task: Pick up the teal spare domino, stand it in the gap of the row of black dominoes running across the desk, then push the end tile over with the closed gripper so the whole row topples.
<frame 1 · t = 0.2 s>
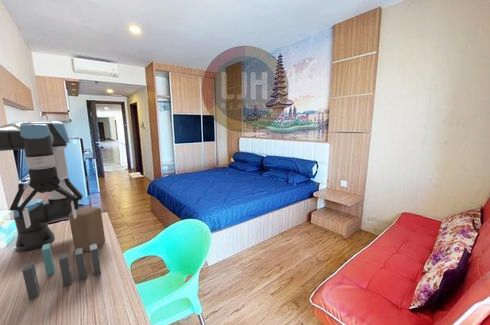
hand: (52, 221, 83), 27 cm above the table, fingers open, 13 cm apart
block: (90, 246, 114), on the table
spare domino: (51, 271, 95), on the table
domino 5: (97, 271, 95), on the table
domino 4: (83, 276, 92), on the table
domino 3: (68, 282, 89), on the table
domino 1: (34, 294, 83), on the table
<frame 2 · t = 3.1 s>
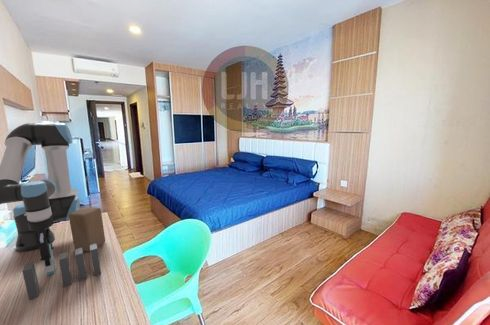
hand: (50, 267, 95), 2 cm above the table, fingers closed on spare domino, 5 cm apart
spare domino: (51, 271, 95), on the table, touching gripper
everything else where it was.
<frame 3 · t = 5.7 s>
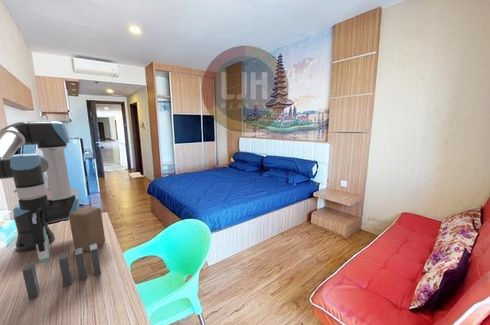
hand: (44, 254, 83), 15 cm above the table, fingers closed on spare domino, 5 cm apart
spare domino: (45, 258, 83), point 13 cm above the table, touching gripper
everything else where it was.
when the fingers open (2 cm above the table, at t = 8.1 s): spare domino stays where it is, on the table.
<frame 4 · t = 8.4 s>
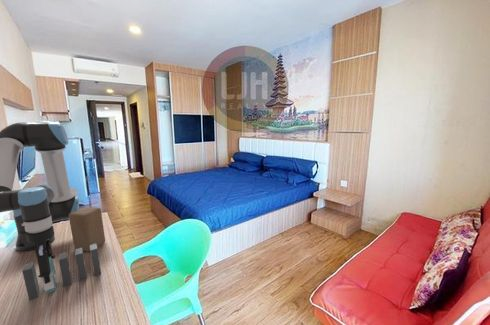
hand: (50, 281, 85), 3 cm above the table, fingers open, 9 cm apart
spare domino: (51, 287, 86), on the table
everything else where it was.
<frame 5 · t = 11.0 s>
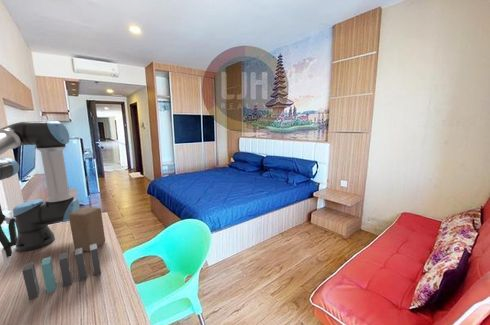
nothing on the table moved.
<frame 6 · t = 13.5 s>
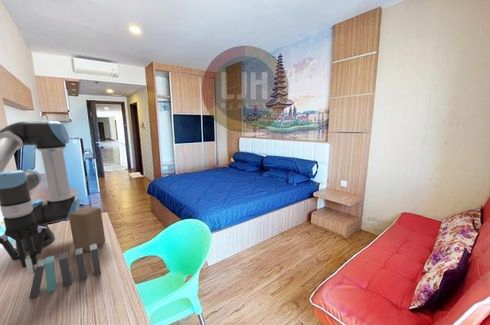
hand: (31, 272, 81), 9 cm above the table, fingers closed
domino 1: (34, 293, 83), on the table, tilted 17°
everything else where it was.
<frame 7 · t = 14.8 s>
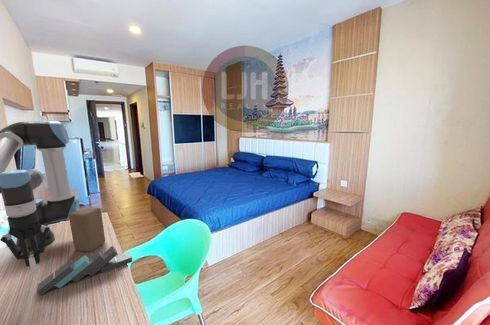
hand: (35, 271, 82), 9 cm above the table, fingers closed
spare domino: (57, 283, 87), point 1 cm above the table, tilted 60°, touching domino 1, domino 3
domino 5: (100, 267, 96), point 1 cm above the table, tilted 89°, touching domino 4
domino 4: (89, 271, 93), point 1 cm above the table, tilted 60°, touching domino 3, domino 5
domino 3: (73, 277, 90), point 1 cm above the table, tilted 60°, touching domino 4, spare domino
domino 1: (39, 289, 84), point 1 cm above the table, tilted 61°, touching spare domino
everything else where it was.
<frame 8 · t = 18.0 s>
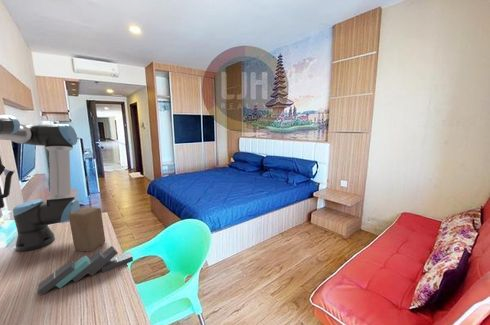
domino 4: (88, 271, 93), point 1 cm above the table, tilted 61°, touching domino 3, domino 5
at the end: domino 5 tilted 89°; spare domino tilted 61°; the gripper is holding nothing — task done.
